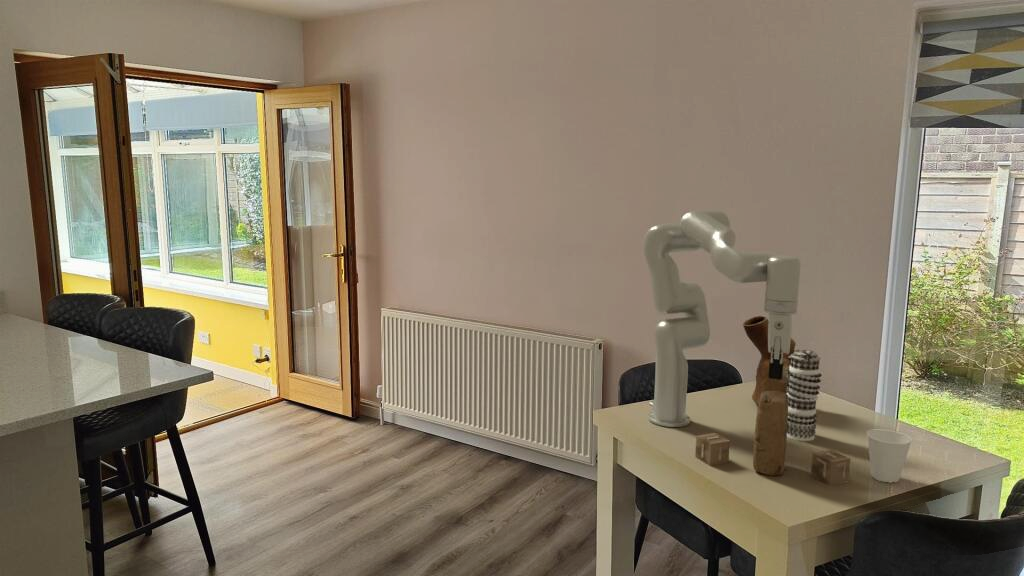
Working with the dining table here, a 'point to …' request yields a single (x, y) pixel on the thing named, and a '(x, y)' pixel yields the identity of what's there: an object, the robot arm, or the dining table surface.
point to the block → (771, 433)
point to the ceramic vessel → (766, 357)
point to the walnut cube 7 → (830, 467)
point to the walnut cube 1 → (712, 449)
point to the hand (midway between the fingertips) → (775, 378)
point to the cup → (887, 454)
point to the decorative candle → (802, 394)
